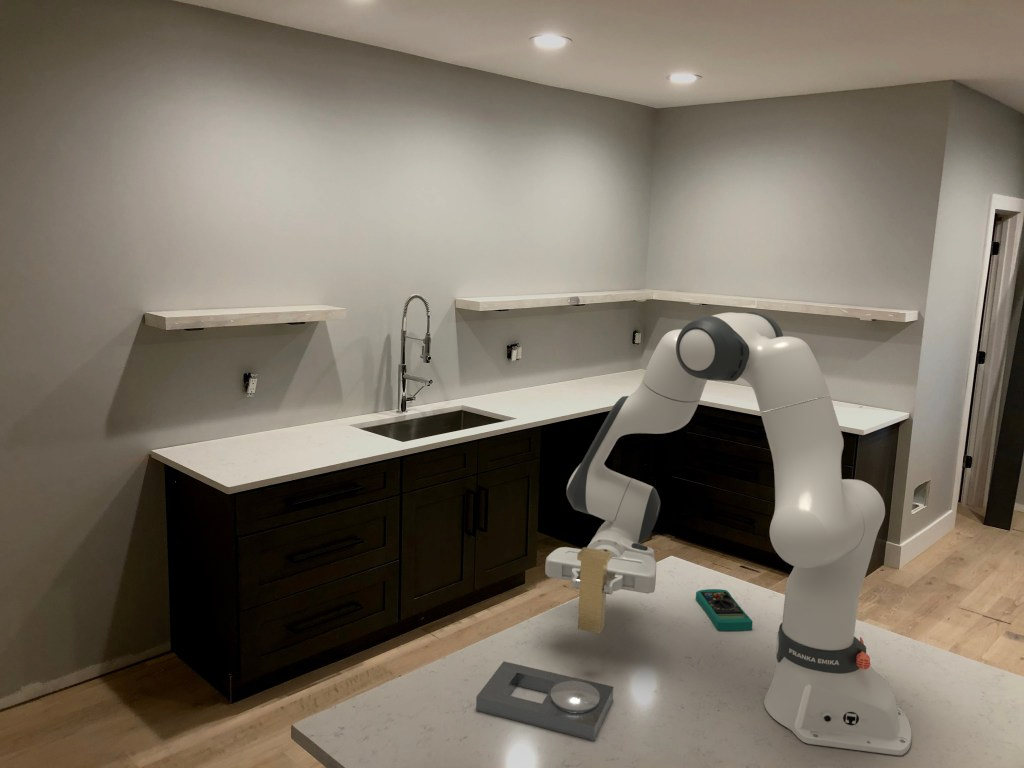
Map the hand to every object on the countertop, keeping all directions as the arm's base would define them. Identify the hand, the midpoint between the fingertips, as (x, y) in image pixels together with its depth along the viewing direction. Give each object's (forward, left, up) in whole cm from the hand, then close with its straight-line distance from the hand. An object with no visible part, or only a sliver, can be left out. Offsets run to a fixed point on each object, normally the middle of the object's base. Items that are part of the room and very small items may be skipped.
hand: (591, 587), depth 139 cm
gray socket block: (+4, +12, -17) cm, 21 cm away
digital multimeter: (-20, -35, -18) cm, 43 cm away
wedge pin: (0, -1, -8) cm, 8 cm away
